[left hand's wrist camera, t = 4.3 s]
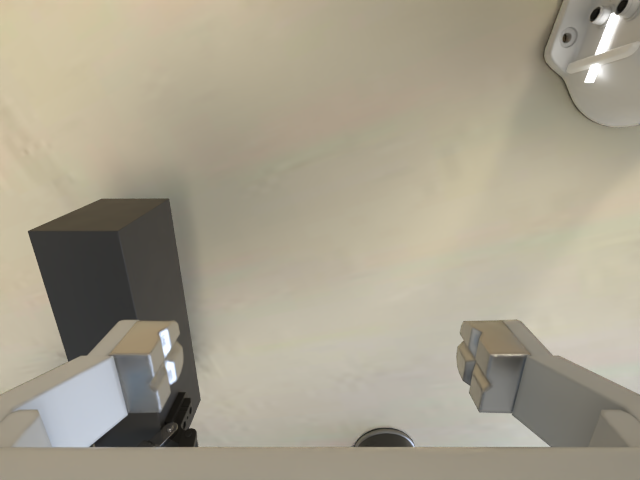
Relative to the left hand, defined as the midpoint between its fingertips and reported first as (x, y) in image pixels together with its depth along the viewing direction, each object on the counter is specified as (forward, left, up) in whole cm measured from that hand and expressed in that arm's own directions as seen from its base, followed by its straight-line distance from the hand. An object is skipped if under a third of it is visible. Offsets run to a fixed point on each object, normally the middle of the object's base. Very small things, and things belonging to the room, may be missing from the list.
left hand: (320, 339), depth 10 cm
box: (+13, -16, -22) cm, 31 cm away
